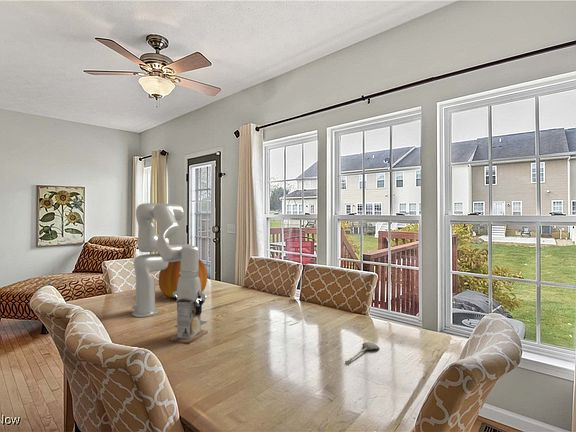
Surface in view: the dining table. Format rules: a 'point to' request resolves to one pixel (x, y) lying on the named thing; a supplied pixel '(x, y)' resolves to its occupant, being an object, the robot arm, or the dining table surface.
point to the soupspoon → (366, 347)
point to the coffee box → (187, 319)
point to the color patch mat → (201, 322)
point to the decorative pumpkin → (171, 276)
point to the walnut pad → (188, 341)
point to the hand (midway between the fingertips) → (189, 313)
